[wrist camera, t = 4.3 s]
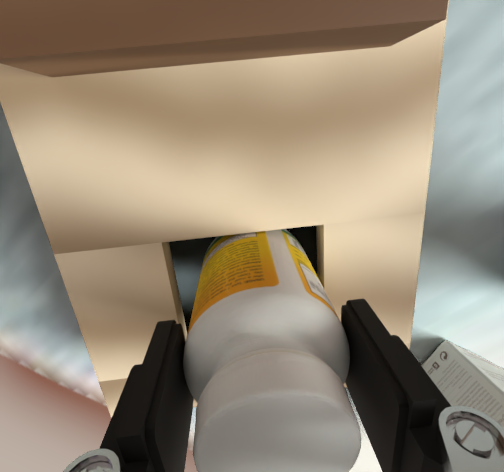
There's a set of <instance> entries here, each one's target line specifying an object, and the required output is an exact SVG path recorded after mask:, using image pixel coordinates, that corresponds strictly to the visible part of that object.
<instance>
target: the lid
mask: <svg viewBox="0 0 504 472" xmlns="http://www.w3.org/2000/svg"><path fill="white" fill-rule="evenodd" d="M448 3H449V0H0V102H1V105H2V108H3V111H4V114H5V117H6V120H7V122H8V125H9V128H10V131H11V134H12V137H13V139H14V142H15V145H16V148H17V151H18V154H19V157H20V159H21V162H22V165H23V168H24V171H25V174H26V176H27V179H28V182H29V185H30V188H31V191H32V193H33V196H34V199H35V202H36V205H37V208H38V211H39V213H40V216H41V219H42V222H43V225H44V228H45V230H46V233H47V236H48V239H49V242H50V245H51V247H52V250H53V253H54V256H55V259H56V262H57V265H58V267H59V270H60V273H61V276H62V279H63V282H64V284H65V287H66V290H67V293H68V296H69V299H70V301H71V304H72V307H73V310H74V313H75V316H76V319H77V321H78V324H79V327H80V330H81V333H82V336H83V338H84V341H85V344H86V347H87V350H88V353H89V355H90V358H91V361H92V364H93V367H94V370H95V373H96V375H97V378H98V381H99V384H100V387H101V390H102V392H103V395H104V398H105V401H106V404H107V407H108V410H109V412H110V415H111V418H112V416H113V413H114V411H115V408H116V406H117V403H118V401H119V398H120V396H121V393H122V391H123V388H124V386H125V383H126V381H127V378H128V376H129V373H130V371H131V369H132V367H133V366H134V365H138V364H142V363H143V360H144V357H145V355H146V352H147V349H148V346H149V344H150V341H151V338H152V335H153V332H154V330H155V327H156V324H157V322H159V321H167V320H175V321H176V323H177V324H179V323H181V324H182V327H183V331H184V336H185V341H186V338H187V330H186V325H185V320H184V315H183V310H182V305H181V300H180V295H179V290H178V285H177V280H176V276H175V271H174V266H173V261H172V256H171V251H170V246H169V242H170V241H179V240H188V239H197V238H207V237H216V236H225V235H234V234H243V233H252V232H261V231H270V230H279V229H288V228H297V227H306V226H315V225H316V232H317V276H318V278H319V280H320V282H321V284H322V286H323V288H324V290H325V292H326V294H327V296H328V298H329V300H330V302H331V304H332V306H333V308H334V309H335V311H336V313H337V316H338V318H339V320H340V321H341V307H342V305H346V302H347V301H348V300H354V299H365V300H366V301H367V302H368V304H369V305H370V307H371V308H372V309H373V311H374V312H375V314H376V315H377V316H378V318H379V319H380V321H381V322H382V323H383V325H384V326H385V328H386V329H387V330H388V332H389V333H390V335H397V336H399V337H400V339H401V340H402V341H403V342H404V344H405V345H406V346H407V348H408V349H409V350H410V342H411V334H412V325H413V316H414V307H415V298H416V289H417V280H418V271H419V262H420V253H421V244H422V235H423V226H424V218H425V209H426V200H427V191H428V182H429V173H430V164H431V155H432V146H433V137H434V128H435V119H436V110H437V102H438V93H439V84H440V75H441V66H442V57H443V48H444V39H445V30H446V21H447V12H448ZM344 386H345V388H346V387H347V385H346V383H344ZM197 404H198V403H197V402H196V401H195V399H194V401H193V407H197Z"/></svg>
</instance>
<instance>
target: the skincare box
mask: <svg viewBox="0 0 504 472" xmlns="http://www.w3.org/2000/svg"><path fill="white" fill-rule="evenodd" d="M421 366H422V367H423V369H424V370H425V371H426V373H427V374H428V375H429V377H430V378H431V379H432V381H433V382H434V383H435V385H436V386H437V387H438V389H439V390H440V391H441V393H442V394H443V395H444V397H445V398H446V399H447V401H448V402H449V403H450V405H451V406H466V407H470V408H474V409H476V410H478V411H481V412H483V413H485V414H487V415H488V416H490V417H491V418H493V419H494V420H495V421H497V422H498V423H499V424H500V425H501V426H502V427H503V428H504V369H503V368H501V367H499V366H497V365H495V364H493V363H491V362H490V361H488V360H486V359H484V358H482V357H480V356H478V355H476V354H474V353H472V352H470V351H468V350H465V349H463V348H461V347H458V346H457V345H455V344H453V343H451V342H450V341H448V340H445V341H444V342H442V343H441V344H440V345H439V346H438V348H437V349H436V350H435V351H434V353H433V354H432V355H431V356H430V357H429V358H428V359H427V360H426V361H425V362H424V363H423V364H422V365H421Z"/></svg>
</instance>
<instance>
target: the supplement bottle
mask: <svg viewBox="0 0 504 472" xmlns="http://www.w3.org/2000/svg"><path fill="white" fill-rule="evenodd" d="M349 364H350V350H349V343H348V339H347V336H346V333H345V330H344V328H343V326H342V323H341V321H340V320H339V318H338V316H337V313H336V311H335V309H334V308H333V306H332V304H331V302H330V300H329V298H328V296H327V294H326V292H325V290H324V288H323V286H322V284H321V282H320V280H319V278H318V276H317V274H316V273H315V271H314V269H313V267H312V265H311V263H310V261H309V259H308V257H307V255H306V253H305V251H304V250H303V248H302V246H301V244H300V243H299V241H298V240H297V239H296V238H295V237H294V236H293V235H292V234H291V233H290V232H289V231H287V230H286V229H279V230H270V231H261V232H252V233H243V234H234V235H225V236H217V237H216V238H215V239H214V240H213V242H212V243H211V244H210V246H209V247H208V249H207V251H206V254H205V257H204V260H203V264H202V268H201V273H200V277H199V282H198V287H197V292H196V296H195V301H194V306H193V311H192V316H191V320H190V325H189V329H188V334H187V338H186V343H185V348H184V355H183V369H184V375H185V380H186V383H187V386H188V388H189V390H190V392H191V394H192V396H193V398H194V399H195V401H196V402H197V403H198V404H197V408H196V425H195V436H194V447H193V456H194V460H195V465H196V468H197V471H198V472H349V470H350V469H351V468H352V467H353V465H354V464H355V462H356V460H357V457H358V454H359V451H360V448H361V434H360V428H359V425H358V422H357V419H356V417H355V414H354V411H353V409H352V406H351V404H350V401H349V398H348V395H347V391H346V389H345V386H344V383H345V381H346V378H347V375H348V371H349Z"/></svg>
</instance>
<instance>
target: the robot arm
mask: <svg viewBox="0 0 504 472" xmlns="http://www.w3.org/2000/svg"><path fill="white" fill-rule="evenodd" d="M341 323H342V326H343V328H344V330H345V333H346V336H347V339H348V343H349V350H350V364H349V371H348V375H347V378H346V381H345V383H346V385H347V388H348V390H349V393H350V395H351V397H352V400H353V402H354V405H355V407H356V409H357V412H358V414H359V416H360V419H361V421H362V424H363V426H364V428H365V431H366V433H367V435H368V438H369V440H370V443H371V445H372V447H373V450H374V452H375V454H376V457H377V459H378V462H379V464H380V466H381V469H382V471H383V472H504V428H503V427H502V426H501V425H500V424H499V423H498V422H497V421H495V420H494V419H493V418H491V417H490V416H488V415H487V414H485V413H483V412H481V411H478V410H476V409H474V408H470V407H466V406H451V405H450V403H449V402H448V401H447V399H446V398H445V397H444V395H443V394H442V393H441V391H440V390H439V389H438V387H437V386H436V385H435V383H434V382H433V381H432V379H431V378H430V377H429V375H428V374H427V373H426V371H425V370H424V369H423V367H422V366H421V365H420V363H419V362H418V361H417V359H416V358H415V357H414V355H413V354H412V353H411V351H410V350H409V349H408V348H407V346H406V345H405V344H404V342H403V341H402V340H401V339H400V337H399V336H397V335H390V333H389V332H388V330H387V329H386V328H385V326H384V325H383V323H382V322H381V321H380V319H379V318H378V316H377V315H376V314H375V312H374V311H373V309H372V308H371V307H370V305H369V304H368V302H367V301H366V300H365V299H354V300H348V301H347V302H346V305H342V307H341ZM185 343H186V341H185V336H184V331H183V327H182V324H181V323H179V324H177V323H176V321H175V320H167V321H159V322H157V324H156V327H155V330H154V332H153V335H152V338H151V341H150V344H149V346H148V349H147V352H146V355H145V357H144V360H143V363H142V364H138V365H134V366H133V367H132V369H131V371H130V373H129V376H128V378H127V381H126V383H125V386H124V388H123V391H122V393H121V396H120V398H119V401H118V403H117V406H116V408H115V411H114V413H113V416H112V419H111V421H110V424H109V426H108V429H107V431H106V434H105V436H104V439H103V441H102V444H101V446H100V449H96V450H92V451H89V452H87V453H85V454H83V455H82V456H79V457H78V458H77V459H75V460H74V461H73V462H72V463H71V464H69V465H68V466H67V467H66V469H65V470H64V471H63V472H184V468H185V461H186V453H187V446H188V438H189V431H190V424H191V416H192V409H193V401H194V398H193V396H192V394H191V392H190V390H189V388H188V386H187V383H186V380H185V375H184V369H183V355H184V348H185Z"/></svg>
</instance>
